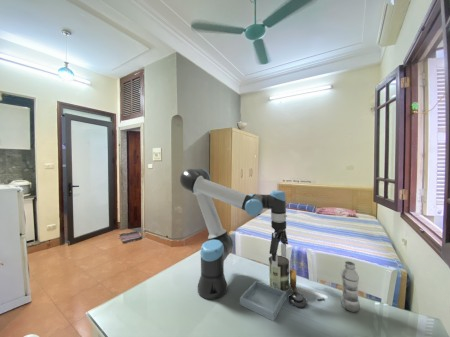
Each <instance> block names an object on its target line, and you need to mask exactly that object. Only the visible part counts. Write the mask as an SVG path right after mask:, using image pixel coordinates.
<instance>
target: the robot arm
mask: <svg viewBox="0 0 450 337" xmlns="http://www.w3.org/2000/svg"><path fill="white" fill-rule="evenodd" d="M179 183H180V186H182V188H184V189H185V190H187V191H189V192H191V193H192V195H194V196H195V197H196V200H197V203H198V206H199V208H200V211H201V214H202V217H203V219H204V223H205V225H206V229H207V232H208V236H207V239H208V240H206V241H205V242H203V243H202V245H201V247H200V276H199V279H198V284H197V293H198V295H199V296H200V297H201V298H203V299H206V300H216V299H220V298H222V297H223V296H225V295H226V293H227V292H228V283H227V280H226V277H225V272H224V270H225V269H224V268H225V267H224V263H225V260H226V259H227V257H228V256H229V255H230V254H231V253H232V252H233V248H234V240H233V237H232V236H231V235H230V234H229V233H228V232H227V230H226V229H224V227H223V225H222V222H221V219H220V217H219V213H218V211H217V208H216V205H215V202H214V200H213V199H215V200H217V201H220V202H222V203H225V204H227V205H230V206H233V207H236V208H237V209H240V210H242V211H245V212H246V213H247V215H249V216H252V217H255V216H257V215H259V214H261V213H262V211H263V209H264V210H270V216H271V217H270V220H271V225H270V226H271V228H272V229H273V230H274V232H272V233H271V239H270V246H269V254H270V255H271V256H272V266H273V267H276V268H277V267H278V259H277V255H278V253H277V252H278V249H279V243H280V242H281V243H280V253H281V254H280V256H283V257H286V258H287V245H288V244H289V242H288V236H287V232H286V229H287V217H288V214H287V200H286V192H285V191H284V190H272V191H270V194H261V193H260V194H259V193H257V194H256V193H254V194H253V193H250V194H247V193H244V192H241V191H238V190H235V189H233V188H230V187H228V186H225V185H222V184H220V183H218V182H217V183H216V182H213V181H211V175H210V173H209V172H208V171H207V170H206V169H204V168H188V169H185V170H183V171H182V172H181V174H180V176H179Z"/></svg>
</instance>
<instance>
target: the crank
mask: <svg viewBox="0 0 450 337" xmlns="http://www.w3.org/2000/svg"><path fill="white" fill-rule="evenodd" d="M289 288H290V290H291V294H292V299H293V300H294V301H296V302H303V296H304V295H303V293H301V292H299V289H298V287H297V270H296V269H293V268H291V269H290V268H289Z"/></svg>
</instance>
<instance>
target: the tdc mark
mask: <svg viewBox="0 0 450 337" xmlns="http://www.w3.org/2000/svg"><path fill="white" fill-rule="evenodd" d="M316 301H326V299H325V298H324V297H322V298H321V297H320V298H316Z"/></svg>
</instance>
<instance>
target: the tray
mask: <svg viewBox="0 0 450 337" xmlns="http://www.w3.org/2000/svg"><path fill="white" fill-rule="evenodd" d="M286 299H287V292H285V291H282V290H279V289H277V288H274V287H271V286H269V284H266V283H264V282H261V281H258V280H255V281H253V283H251V285H249V287H248V288H247V289H246V290H245V291H244V293H242V295H241V296H240V297H239V305H240V306H242V307H244V308H246V309H249V311H250V310H251V311H252V312H254V313H256V314H259V315H260V316H262V317H264V318H266V319H268V320H271V321H272V322H274V321H275V319H276V318H277V317H278V316H277V315H278V314H279V312H280V311H281V308H282V307H283V305H284V303H285V302H286Z"/></svg>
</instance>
